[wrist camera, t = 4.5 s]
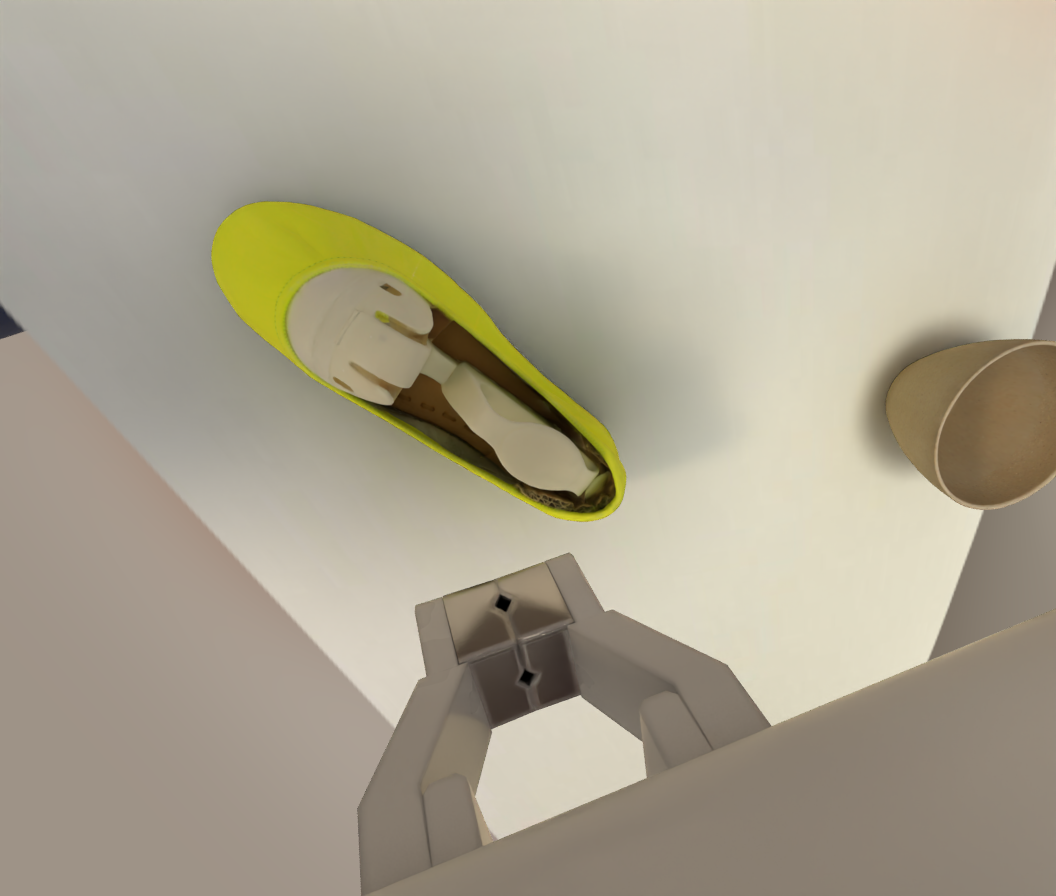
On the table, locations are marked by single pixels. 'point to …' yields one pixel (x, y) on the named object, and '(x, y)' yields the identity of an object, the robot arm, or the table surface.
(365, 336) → the ballet flat
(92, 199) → the table surface
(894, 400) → the bowl
